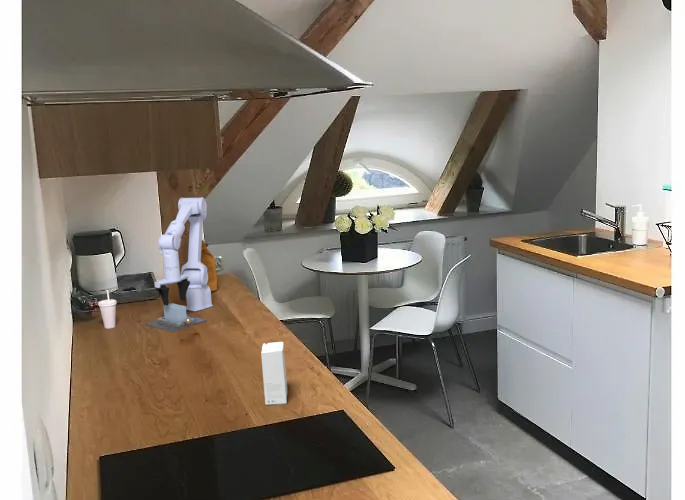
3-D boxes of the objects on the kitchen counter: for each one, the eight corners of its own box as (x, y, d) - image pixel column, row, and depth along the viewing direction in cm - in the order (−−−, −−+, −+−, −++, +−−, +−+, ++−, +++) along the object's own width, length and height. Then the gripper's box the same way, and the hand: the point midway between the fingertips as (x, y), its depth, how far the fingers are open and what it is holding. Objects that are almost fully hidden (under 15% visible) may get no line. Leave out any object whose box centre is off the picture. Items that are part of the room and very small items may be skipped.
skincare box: (286, 404, 183) (284, 350, 180) (263, 405, 183) (260, 352, 180) (287, 392, 191) (284, 340, 188) (265, 393, 191) (262, 341, 188)
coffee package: (215, 285, 312) (211, 237, 308) (219, 292, 300) (216, 242, 296) (192, 288, 309) (189, 239, 305) (196, 294, 297) (192, 244, 293)
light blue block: (187, 322, 257) (185, 306, 256) (178, 324, 254) (177, 309, 253) (173, 318, 262) (172, 303, 261) (164, 321, 259) (163, 305, 258)
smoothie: (115, 329, 253) (111, 292, 250) (98, 329, 253) (94, 292, 250) (121, 324, 259) (117, 287, 256) (104, 324, 259) (100, 288, 257)
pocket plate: (179, 314, 270) (179, 307, 269) (206, 320, 260) (206, 313, 259) (145, 324, 257) (144, 317, 257) (172, 332, 247) (171, 324, 247)
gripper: (180, 261, 262) (183, 296, 265) (148, 269, 251) (151, 305, 254) (192, 263, 258) (195, 299, 261) (160, 271, 247) (163, 308, 250)
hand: (174, 302), depth 257 cm, fingers open, 7 cm apart
